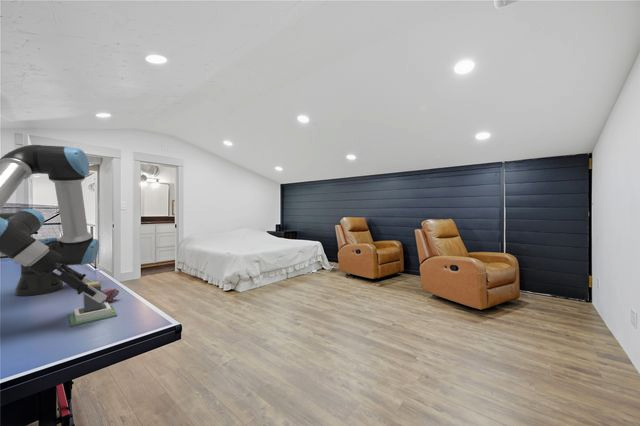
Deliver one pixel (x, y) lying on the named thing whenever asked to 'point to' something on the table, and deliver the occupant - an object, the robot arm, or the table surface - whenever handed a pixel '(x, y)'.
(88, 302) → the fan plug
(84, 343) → the table surface
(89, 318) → the green square tray
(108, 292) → the video game controller
